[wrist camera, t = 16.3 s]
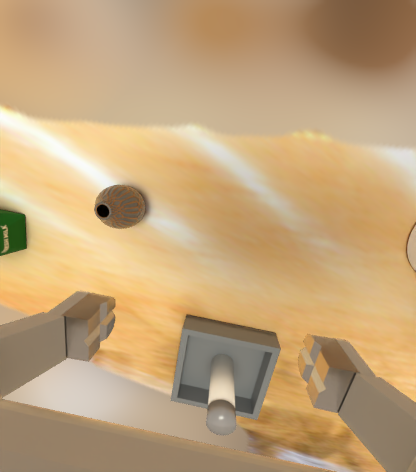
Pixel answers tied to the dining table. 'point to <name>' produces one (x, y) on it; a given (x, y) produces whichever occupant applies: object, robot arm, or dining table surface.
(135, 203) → the vase
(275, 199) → the dining table surface
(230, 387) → the shaker
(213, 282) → the dining table surface
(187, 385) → the tray
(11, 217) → the milk carton
